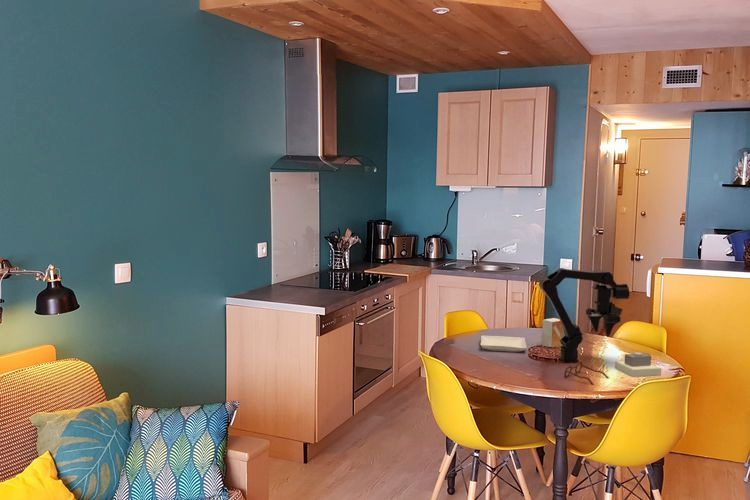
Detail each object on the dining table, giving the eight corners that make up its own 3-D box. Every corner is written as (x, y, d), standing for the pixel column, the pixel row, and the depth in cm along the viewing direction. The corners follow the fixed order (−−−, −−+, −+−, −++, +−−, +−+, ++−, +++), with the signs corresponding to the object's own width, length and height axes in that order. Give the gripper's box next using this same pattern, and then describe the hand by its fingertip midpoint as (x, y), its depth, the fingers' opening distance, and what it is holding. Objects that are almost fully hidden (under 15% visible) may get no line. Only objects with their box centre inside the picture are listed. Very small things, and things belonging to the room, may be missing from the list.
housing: (650, 365, 271) (651, 354, 270) (632, 366, 268) (632, 355, 268) (642, 362, 276) (643, 351, 275) (624, 363, 273) (625, 352, 273)
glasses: (579, 372, 272) (580, 360, 271) (609, 379, 262) (610, 367, 262) (563, 378, 263) (563, 366, 262) (593, 386, 253) (593, 373, 253)
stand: (632, 376, 265) (633, 369, 264) (614, 367, 277) (614, 361, 277) (661, 375, 267) (661, 368, 267) (641, 366, 280) (642, 359, 280)
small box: (551, 348, 309) (552, 321, 308) (541, 346, 314) (542, 319, 313) (562, 346, 313) (563, 319, 312) (552, 343, 319) (553, 317, 317)
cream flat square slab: (524, 343, 320) (524, 336, 320) (526, 354, 300) (527, 347, 299) (480, 341, 324) (480, 334, 324) (480, 352, 303) (480, 344, 303)
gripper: (632, 302, 278) (630, 338, 280) (608, 295, 296) (606, 328, 298) (609, 303, 276) (607, 339, 278) (585, 295, 294) (584, 329, 296)
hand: (602, 334), depth 287 cm, fingers open, 9 cm apart
